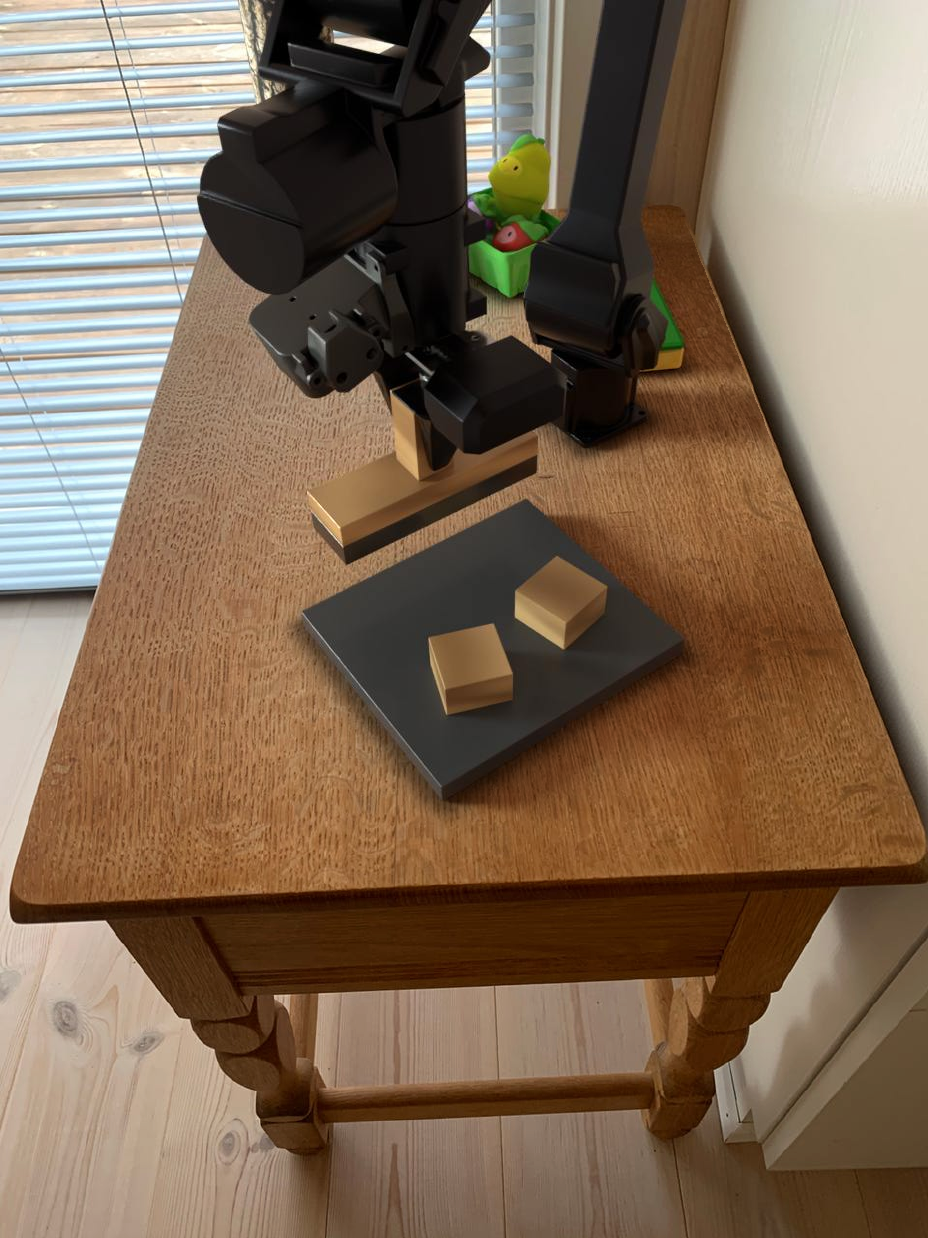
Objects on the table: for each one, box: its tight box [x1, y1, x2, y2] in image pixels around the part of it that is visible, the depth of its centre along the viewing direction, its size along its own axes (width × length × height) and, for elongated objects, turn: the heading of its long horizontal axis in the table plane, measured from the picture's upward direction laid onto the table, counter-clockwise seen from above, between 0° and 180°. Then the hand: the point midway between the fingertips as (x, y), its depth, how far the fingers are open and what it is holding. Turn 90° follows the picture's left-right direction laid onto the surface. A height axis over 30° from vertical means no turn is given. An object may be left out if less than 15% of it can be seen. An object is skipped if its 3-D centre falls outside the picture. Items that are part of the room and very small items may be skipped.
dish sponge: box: [639, 276, 686, 373], centre depth 85 cm, size 7×14×2 cm, turn 7°
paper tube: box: [237, 0, 335, 105], centre depth 82 cm, size 7×7×25 cm
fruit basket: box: [468, 133, 562, 299], centre depth 88 cm, size 11×9×11 cm
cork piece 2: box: [515, 556, 607, 650], centre depth 61 cm, size 4×4×2 cm
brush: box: [306, 378, 539, 566], centre depth 58 cm, size 14×4×8 cm, turn 125°
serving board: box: [300, 498, 685, 802], centre depth 62 cm, size 18×16×2 cm
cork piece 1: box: [428, 624, 513, 715], centre depth 57 cm, size 4×4×2 cm
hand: (425, 454), depth 59 cm, fingers closed on brush, 2 cm apart
